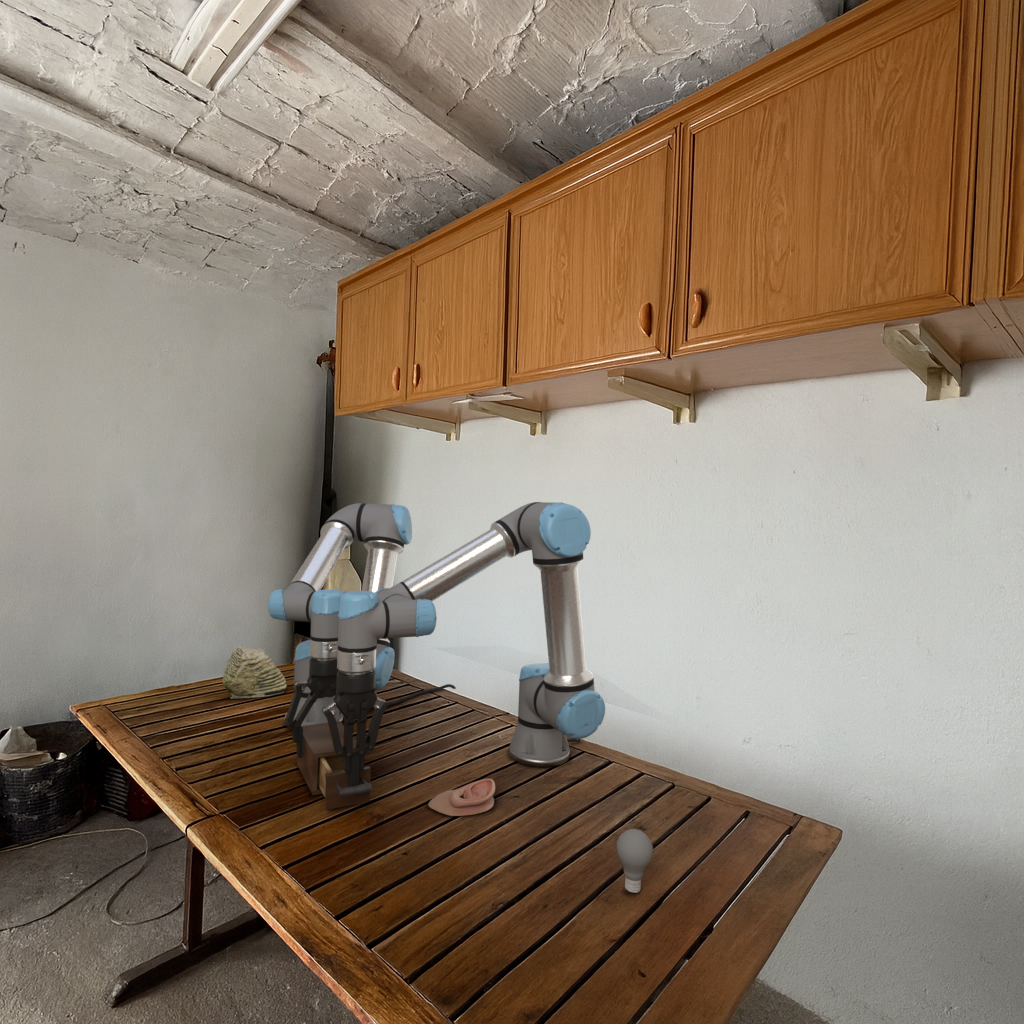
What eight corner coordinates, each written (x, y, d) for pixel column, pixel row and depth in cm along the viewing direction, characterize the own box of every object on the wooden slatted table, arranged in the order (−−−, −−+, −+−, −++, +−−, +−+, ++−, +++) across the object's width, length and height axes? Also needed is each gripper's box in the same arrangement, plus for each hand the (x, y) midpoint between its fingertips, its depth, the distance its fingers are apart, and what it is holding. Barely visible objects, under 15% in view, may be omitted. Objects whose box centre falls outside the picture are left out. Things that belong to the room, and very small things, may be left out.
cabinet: (359, 786, 139) (361, 746, 139) (312, 795, 134) (314, 754, 134) (339, 756, 154) (340, 720, 154) (296, 763, 149) (297, 726, 149)
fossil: (218, 695, 195) (220, 647, 195) (278, 685, 208) (279, 640, 207) (228, 703, 189) (230, 653, 188) (289, 692, 201) (290, 645, 201)
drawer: (377, 812, 126) (378, 778, 125) (332, 822, 121) (333, 786, 121) (348, 770, 145) (349, 740, 145) (308, 776, 140) (309, 746, 140)
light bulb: (610, 879, 108) (613, 822, 108) (644, 879, 109) (647, 822, 109) (619, 902, 102) (622, 840, 102) (655, 901, 103) (658, 840, 103)
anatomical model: (423, 792, 129) (441, 769, 140) (422, 812, 129) (440, 787, 140) (487, 801, 126) (499, 777, 137) (486, 821, 126) (498, 795, 137)
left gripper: (278, 665, 139) (274, 766, 139) (378, 656, 150) (375, 750, 150) (272, 657, 145) (269, 753, 146) (369, 649, 156) (366, 739, 157)
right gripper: (327, 678, 119) (324, 802, 120) (394, 671, 125) (390, 788, 126) (318, 668, 126) (315, 785, 126) (382, 662, 132) (379, 773, 133)
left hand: (323, 751), depth 148 cm, fingers closed on cabinet, 10 cm apart
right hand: (353, 787), depth 126 cm, fingers closed
